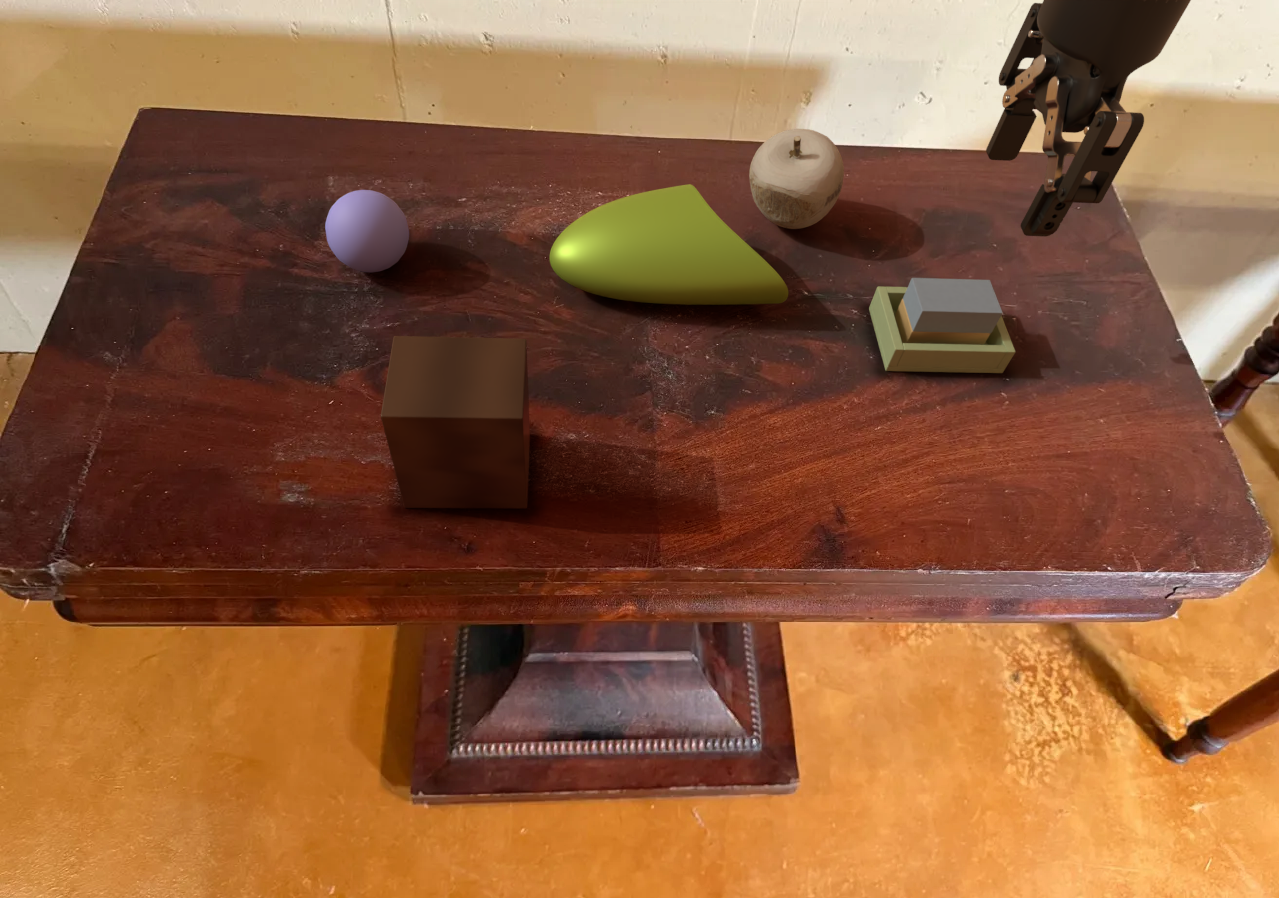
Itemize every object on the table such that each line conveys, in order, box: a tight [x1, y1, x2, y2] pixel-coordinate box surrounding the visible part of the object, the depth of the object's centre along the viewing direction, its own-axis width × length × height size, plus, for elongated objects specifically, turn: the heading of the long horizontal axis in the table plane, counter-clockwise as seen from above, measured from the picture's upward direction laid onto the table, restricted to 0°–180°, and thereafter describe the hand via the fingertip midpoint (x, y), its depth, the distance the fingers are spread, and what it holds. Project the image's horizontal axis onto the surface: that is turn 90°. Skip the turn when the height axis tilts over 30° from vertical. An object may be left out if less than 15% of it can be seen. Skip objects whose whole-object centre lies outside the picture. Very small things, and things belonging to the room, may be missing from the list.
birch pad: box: [895, 299, 990, 345], centre depth 78 cm, size 7×4×2 cm, turn 92°
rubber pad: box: [903, 277, 1004, 333], centre depth 76 cm, size 7×4×2 cm, turn 92°
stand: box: [380, 335, 531, 510], centre depth 63 cm, size 9×7×11 cm
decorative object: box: [748, 128, 845, 230], centre depth 84 cm, size 9×9×10 cm
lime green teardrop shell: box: [549, 183, 789, 306], centre depth 78 cm, size 8×12×20 cm
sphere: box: [324, 189, 410, 273], centre depth 77 cm, size 7×7×7 cm
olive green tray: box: [868, 285, 1016, 374], centre depth 78 cm, size 11×8×3 cm
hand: (1016, 193), depth 63 cm, fingers open, 8 cm apart
